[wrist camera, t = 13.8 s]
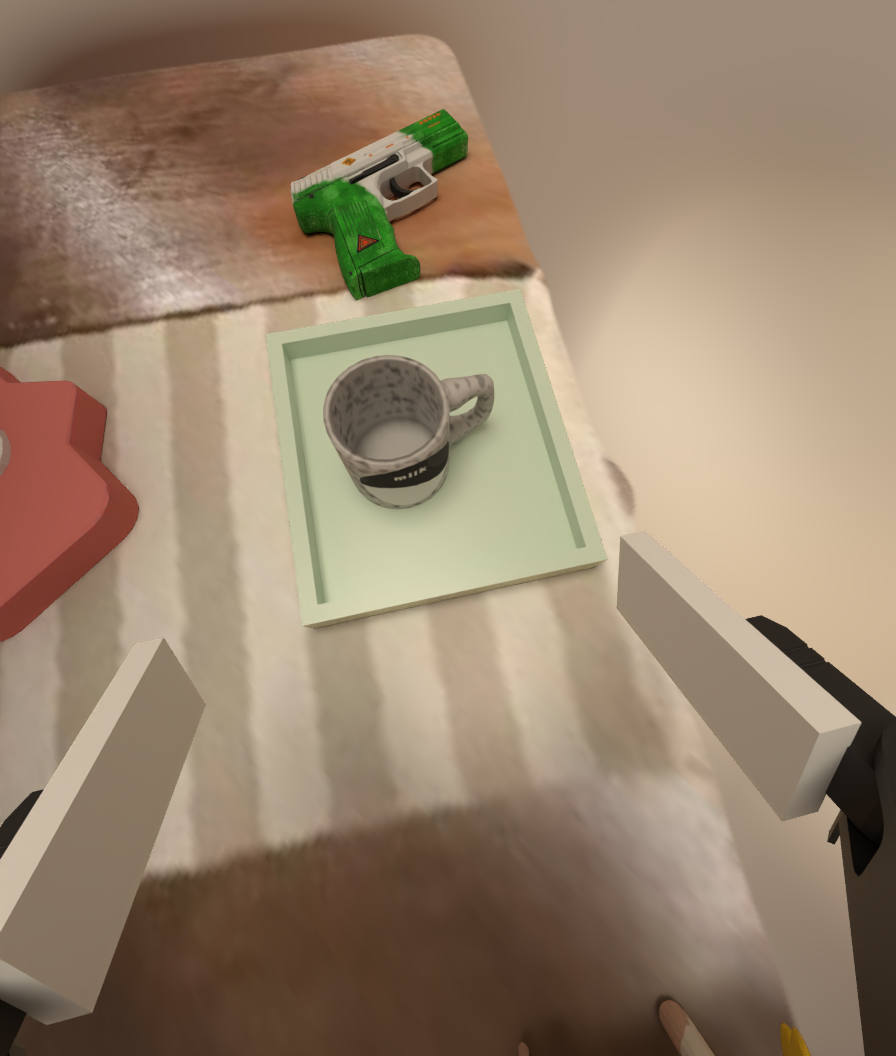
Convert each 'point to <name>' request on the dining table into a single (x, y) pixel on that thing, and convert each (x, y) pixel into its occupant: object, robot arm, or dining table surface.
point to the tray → (473, 477)
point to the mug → (400, 426)
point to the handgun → (378, 200)
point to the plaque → (52, 496)
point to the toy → (692, 1043)
